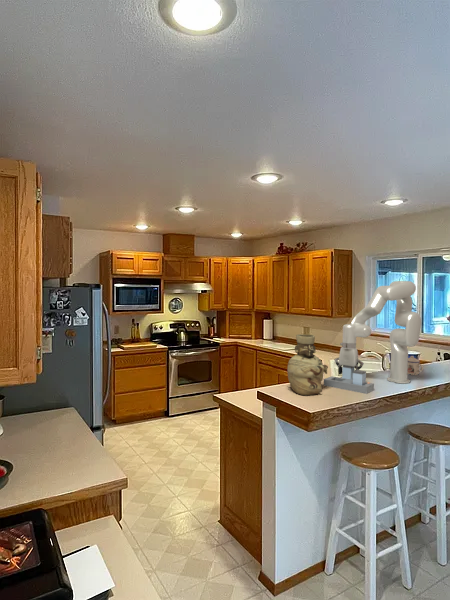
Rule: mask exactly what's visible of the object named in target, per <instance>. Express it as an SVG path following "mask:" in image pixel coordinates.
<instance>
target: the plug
mask: <svg viewBox="0 0 450 600" xmlns="http://www.w3.org/2000/svg"><path fill="white" fill-rule="evenodd" d="M355 370H356V369H355V367H352V366H345V365H342V375H341V377H342V378H345V379H351V380H353V371H355Z"/></svg>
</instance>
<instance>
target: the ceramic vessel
mask: <svg viewBox="0 0 450 600" xmlns="http://www.w3.org/2000/svg"><path fill="white" fill-rule="evenodd" d="M295 338H296V343H297V344H296V345H294V352H295V353H296V354H294V355H293V356H292V357H291V358H290V359H289V360H288V363H287V371H286V372H287V378H288V382H289V386H290V388H291V389H292V391H293V392H294V393H296V394H297V395H300V396H316V395H317V396H319V395H321V394H322V392H323V388H322V382H323V381H324V374H325V375H328V368H329V365H328V364H323V362H322V360H321V359H320V358H319V357H318V356H316V354H315V353H316V346H315V345H314V344H315V339H316V335H314V334H304V333H303V334H296V335H295Z"/></svg>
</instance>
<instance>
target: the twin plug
mask: <svg viewBox="0 0 450 600" xmlns="http://www.w3.org/2000/svg"><path fill="white" fill-rule="evenodd" d="M366 382H367V370H360V369H359V370H356V369H355V370H354V371H353V384H357V385H365V384H366Z"/></svg>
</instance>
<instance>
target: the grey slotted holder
mask: <svg viewBox="0 0 450 600" xmlns="http://www.w3.org/2000/svg"><path fill="white" fill-rule="evenodd" d="M323 386H325V387H330V388H336V389H340V390H345V391H351V392H355V393H360V394H366V395H367V394H369V393H371V392H373V391H375V383H372V382H367V381H366V384H365V385H357V384H353V380H351V379H345V378H340V376H339V377H338V376H333V375H332V376H329V377H326V378H323Z"/></svg>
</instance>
